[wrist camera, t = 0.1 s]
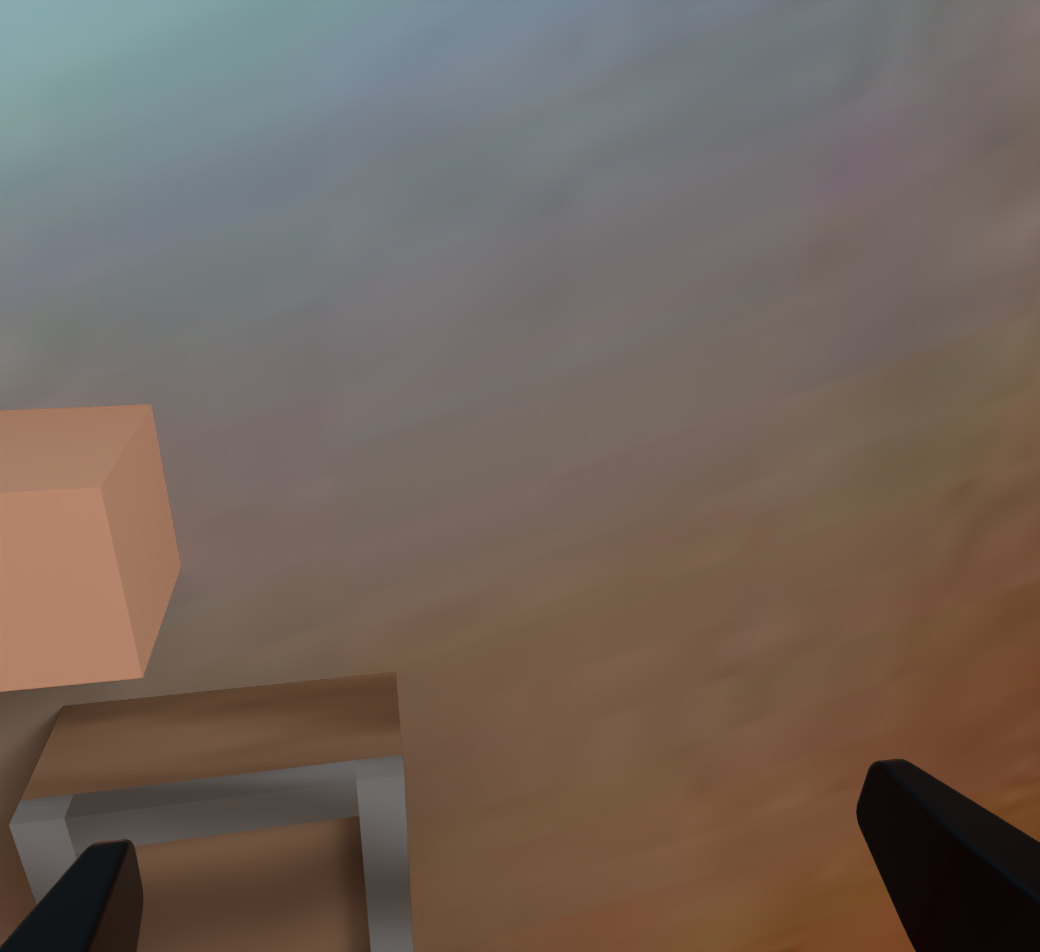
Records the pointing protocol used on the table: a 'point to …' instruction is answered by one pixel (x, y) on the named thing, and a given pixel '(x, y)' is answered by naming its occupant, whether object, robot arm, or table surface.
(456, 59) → the table surface
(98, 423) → the top brick
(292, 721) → the grey square frame
